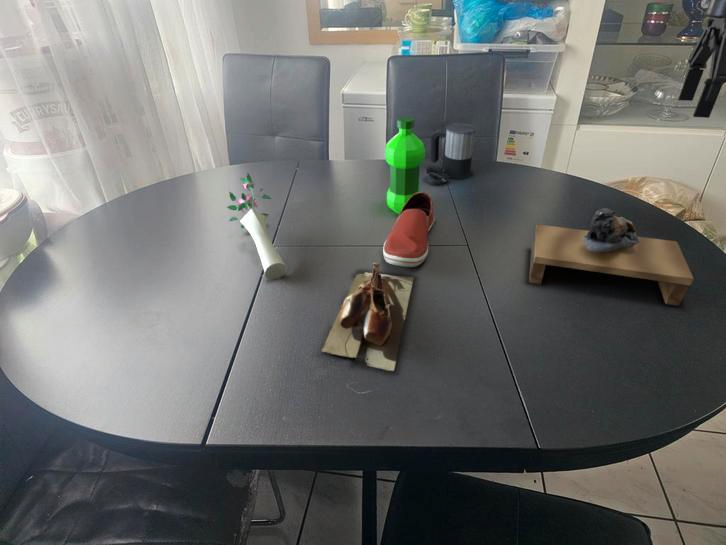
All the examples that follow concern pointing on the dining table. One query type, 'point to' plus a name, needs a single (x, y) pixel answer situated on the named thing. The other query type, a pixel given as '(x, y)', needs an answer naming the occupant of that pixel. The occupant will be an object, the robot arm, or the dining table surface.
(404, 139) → the plastic bottle
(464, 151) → the milk frother
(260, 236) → the flower vase
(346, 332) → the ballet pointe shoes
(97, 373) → the dining table surface
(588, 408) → the dining table surface
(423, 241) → the slip on shoe
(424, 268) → the dining table surface
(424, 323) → the dining table surface
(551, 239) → the oak shelf
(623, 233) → the bison figurine
